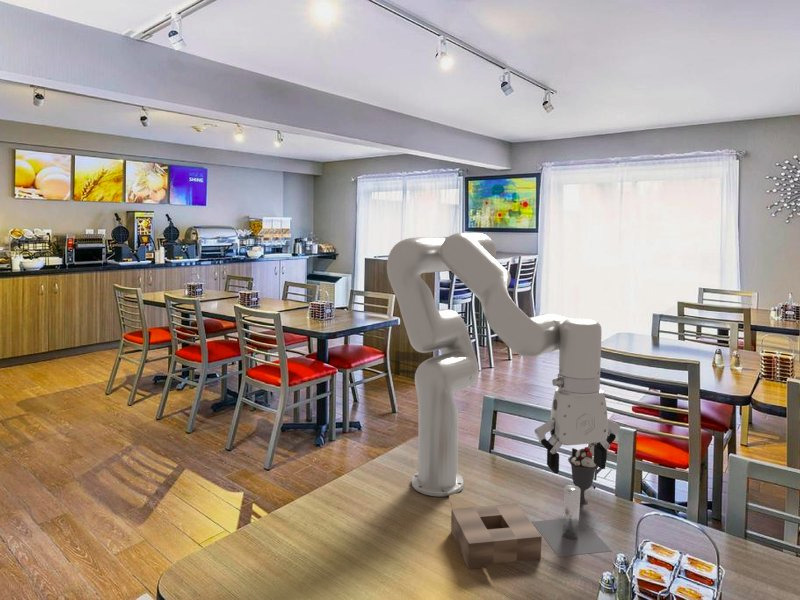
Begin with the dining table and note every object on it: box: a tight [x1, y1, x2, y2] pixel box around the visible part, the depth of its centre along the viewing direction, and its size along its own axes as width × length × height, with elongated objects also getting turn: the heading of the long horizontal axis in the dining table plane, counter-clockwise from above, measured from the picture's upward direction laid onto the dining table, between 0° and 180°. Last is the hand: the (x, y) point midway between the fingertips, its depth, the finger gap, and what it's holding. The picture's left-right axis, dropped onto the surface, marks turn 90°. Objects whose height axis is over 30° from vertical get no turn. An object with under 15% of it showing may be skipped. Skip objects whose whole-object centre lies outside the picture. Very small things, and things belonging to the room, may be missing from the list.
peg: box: [562, 484, 581, 540], centre depth 105 cm, size 3×3×10 cm
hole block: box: [450, 503, 543, 570], centre depth 102 cm, size 12×14×5 cm
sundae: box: [567, 443, 599, 506], centre depth 117 cm, size 7×7×15 cm
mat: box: [531, 516, 613, 558], centre depth 105 cm, size 12×11×1 cm
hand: (576, 468), depth 103 cm, fingers open, 9 cm apart
